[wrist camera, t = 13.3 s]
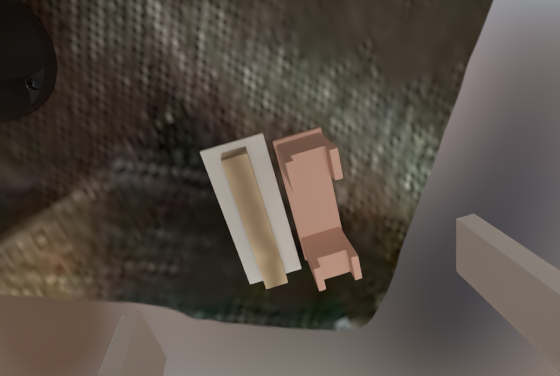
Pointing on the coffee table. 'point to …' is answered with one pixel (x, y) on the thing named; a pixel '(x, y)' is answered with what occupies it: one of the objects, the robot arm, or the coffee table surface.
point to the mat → (270, 199)
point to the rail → (254, 215)
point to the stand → (316, 203)
